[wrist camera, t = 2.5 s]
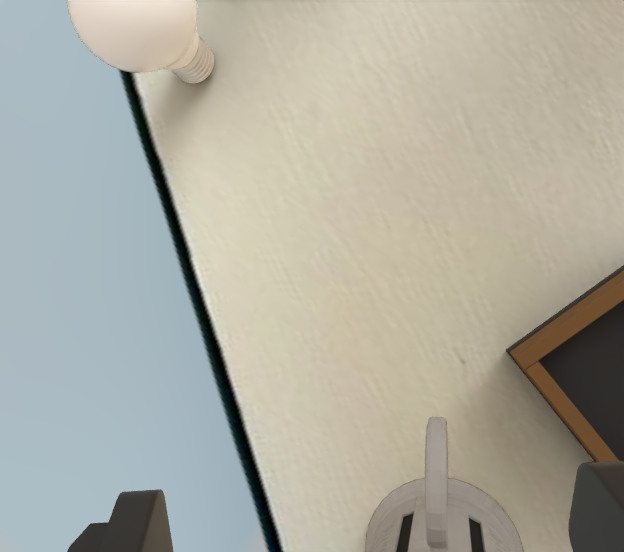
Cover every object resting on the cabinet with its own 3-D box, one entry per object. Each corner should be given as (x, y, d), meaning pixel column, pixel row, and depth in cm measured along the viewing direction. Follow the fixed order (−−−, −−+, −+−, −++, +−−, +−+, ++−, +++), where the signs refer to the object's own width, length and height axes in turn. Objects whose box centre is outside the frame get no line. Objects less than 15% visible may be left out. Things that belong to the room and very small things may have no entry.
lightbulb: (218, -2, 37) (124, -124, 26) (262, 80, 36) (183, -11, 25) (139, 53, 38) (17, -43, 27) (180, 134, 37) (70, 68, 26)
